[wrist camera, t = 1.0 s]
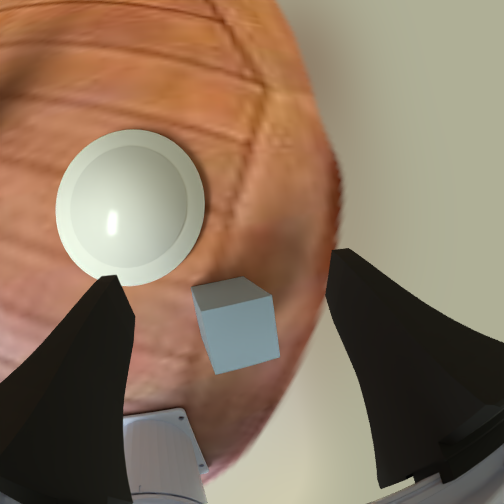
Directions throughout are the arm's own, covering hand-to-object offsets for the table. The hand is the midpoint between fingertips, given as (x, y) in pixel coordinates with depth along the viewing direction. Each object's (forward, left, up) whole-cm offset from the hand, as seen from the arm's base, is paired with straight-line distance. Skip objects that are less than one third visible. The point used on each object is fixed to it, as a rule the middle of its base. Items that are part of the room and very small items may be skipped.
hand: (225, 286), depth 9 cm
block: (-4, -1, -11) cm, 12 cm away
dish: (+4, +4, -12) cm, 13 cm away
